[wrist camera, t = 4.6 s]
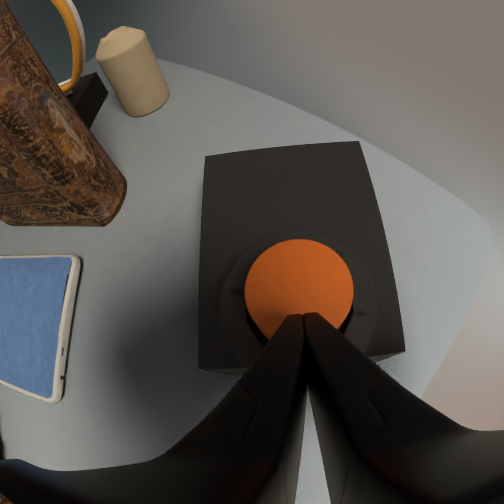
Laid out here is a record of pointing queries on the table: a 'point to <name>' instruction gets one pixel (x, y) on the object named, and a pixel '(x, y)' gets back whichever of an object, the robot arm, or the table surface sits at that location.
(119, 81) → the candle
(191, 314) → the table surface
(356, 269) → the button base
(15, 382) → the tablet
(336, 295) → the power button
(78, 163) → the book
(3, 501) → the brown cream tall piece
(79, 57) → the lamp
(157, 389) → the table surface
